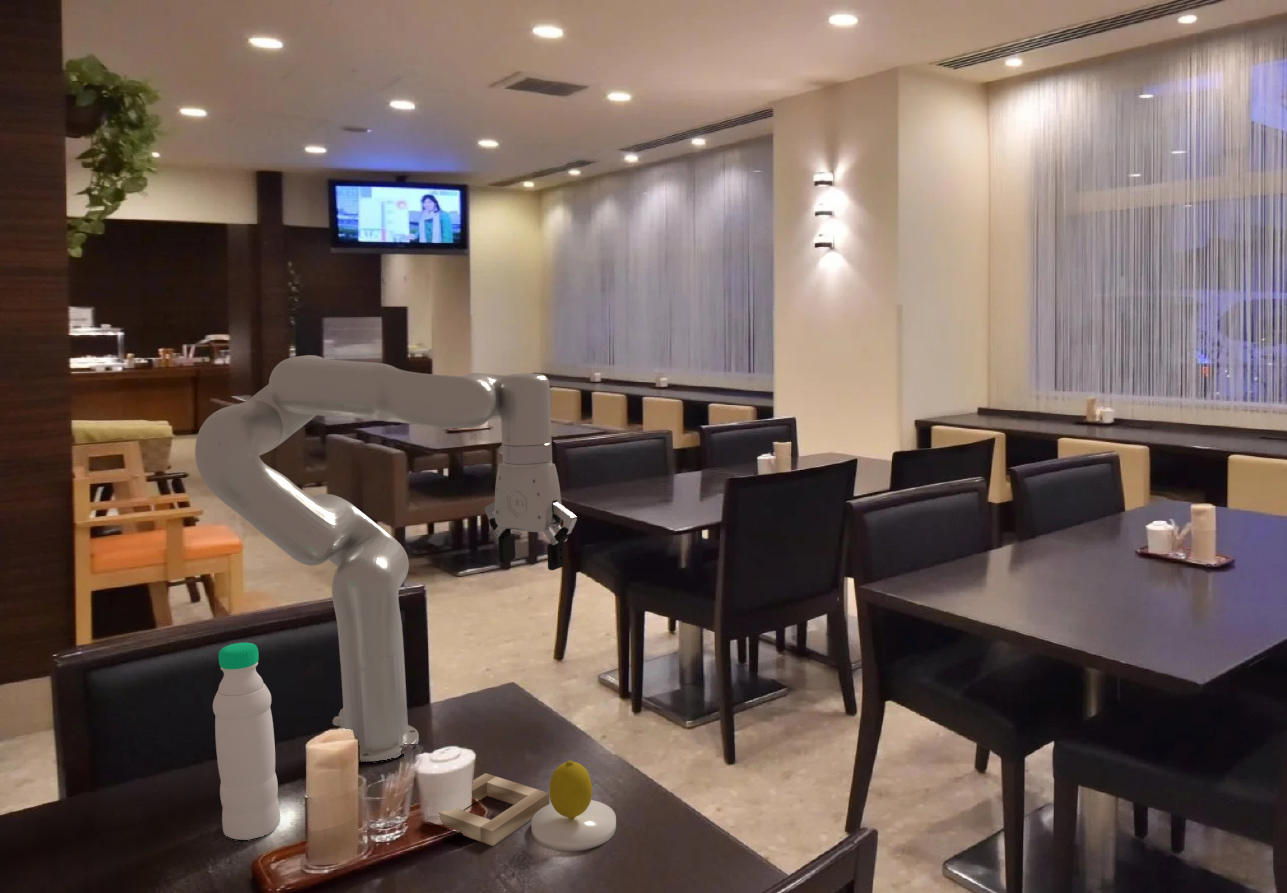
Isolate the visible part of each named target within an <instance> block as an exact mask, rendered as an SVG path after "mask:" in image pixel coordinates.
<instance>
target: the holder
mask: <svg viewBox="0 0 1287 893" xmlns="http://www.w3.org/2000/svg"><path fill="white" fill-rule="evenodd" d="M472 781H473V784H472V797H473V799H478V800H480V801H481V800H482V799H484V798H486V797H489V798H493V799H495V800H499V801H501V802H504V803H508V804H512V806H510V807H509V808H507V809H505V810H504V811H503V812H501V813H499V814H498V815H496V816H494V817H492V818H491V819H489V818H486V817H483V816H480V815H477V814H475V813H472V812H469V811H466V810H461V809H458V808H456V809H453V810H449V811H443V812H441V811H440V812H438V813H439V815H440V816H439V817H440V820H441V822H442V823H443V824H444V825H445V826H447V827H449V828H451V829H455V830H460V831H461V833H462V834H463V835H462V836H465V837H467V838H469V839H472V840H476V841H478V842H481V843H484V844H486V845H489V846H492V847H493V846H495V845H497V844H498V843H499V842H501V841H502V840H504V839H505V838H507V837H508V836H509V835H511V834H512V833H514V832H515V831H517V830H518V829H520V828H521V827H523V826H524V825H525V824H527V823H528V822H531V821H532V818H533V816H534V815H535V813H536V812H537V811H539V810H540V809H541V808H543V807H545V806H547V805H549V804H550V792H546V791H543V790H541V789H537V788H534V787H530V786H528V785H525V784H522V783H518V782H515V781H512V780H509V779H505V778H502V777H499V776H496V775H493V774H490V773H486V772H484V773H483V774H482V775H480V776H478V777H476V778H475V779H473V780H472Z"/></svg>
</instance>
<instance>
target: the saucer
mask: <svg viewBox="0 0 1287 893" xmlns="http://www.w3.org/2000/svg"><path fill="white" fill-rule="evenodd" d="M530 822H531V823H530V824H531V836H532V838H533V839H534V841H535V842H537V843H538V844H539V845H540V846H542V847H545V848H547V849H551V850H553V849H555V850H554V851H559V852H579V851H586V850H589V849H590V850H591V849H593V848H597V847H598V846H601V845H603V844H605V843H607V842H608V841H609V840H610V839H612V837H613V836H614V835H615V833H616V830H617V816H616V813H615V811H614V810H613V809H612V808H611V807H610V806H609V805H607V804H605V803H604V802H601V801H596V800H593V799H591V802H590V804H589V806H588V808H587V809H586V811H584V812H583V813H582V814H581V815H579V816H576V817H575V818H574V819H573V820H570V819H569V818H568V817H565V816H562V815H560V814H559V813H558V812H557V811H556V810H555V809H554V807H553V805H552V803H551V802H550V803H549V805H547V806H545V807H543V808H541V809H540V810H539V811H537V812H536V813H535V815H534V816H533V818H532V819H531V820H530Z"/></svg>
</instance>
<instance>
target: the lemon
mask: <svg viewBox="0 0 1287 893" xmlns="http://www.w3.org/2000/svg"><path fill="white" fill-rule="evenodd" d="M592 796H593V785H592V779H591V776H590V774H589V772H588V770H587V768H586V767H584V766H583V764H580V763H579V762H575V761H573V760H567V761H565V762H563V763H561V764H560V765H558V766H557V767H556V768H555V770H554V771H553V773H552V775H551V778H550V782H549V801H550V804H551V803H552V805H553V807H554V809H555V810H556V811H557V812H558V813H559V814H560V815H562V816H565V817H568V818H569V819H570V820H573V819H574V818H575V817H576V816H579V815H581V814H582V813H583V812H584V811H586V809H587V808H588V806H589V804H590V802H591V800H592Z"/></svg>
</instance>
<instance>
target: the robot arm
mask: <svg viewBox="0 0 1287 893" xmlns="http://www.w3.org/2000/svg"><path fill="white" fill-rule="evenodd" d="M268 380H269V381H268V384H267V385H265V386H264V387H263V388H262V389H260V390H259V391H258V392H256V393H255V394H254V395H253V396H251V397H250V398H248V400H246V401H244V402H241V403H236V404H233V405H229V406H226V407H222V408H220V409H218V410H217V411H215V412H213V413H212V414H210V415H209V416H208V417H207V418H206V419H205V420H204V422H203V423H202V425H201V427H200V428H199V431H198V432H197V437H196V439H195V448H194V452H195V453H194V456H195V458H194V459H195V464H196V467H197V470H198V474H199V475H200V478H201V479H202V481H203V482H204V484H205V486H206V487H207V489H208V490H210V491H211V493H212V494H213V495H215V497H216V498H218V499H219V500H220V501H221V502H222V503H224V504H225V505H226V506H228V507H229V508H230V509H231V510H233V511H234V512H236V513H237V515H239V516H241V517H242V518H243V519H244V520H246V521H247V522H248V523H249V524H250V525H251V526H253V527H254V528H255V530H258V531H259V533H261V534H262V535H264V536H265V538H267V539H269V540H270V542H273V543H274V544H275V545H276V546H277V547H279V549H281V550H282V551H284V552H285V553H286V555H288V556H290V557H291V558H292V559H294V561H296V562H298V563H300V564H303V565H306V566H319V565H321V564H323V563H326V562H328V561H330V562H331V563H333V565H335V566H336V567H337V568H336V570H335V572H334V574H333V580H332V586H331V594H332V595H331V596H332V602H333V603H332V604H333V607H334V612H335V618H336V623H337V624H336V627H337V635H338V649H339V662H340V672H341V673H340V675H341V676H340V678H341V688H342V690H341V691H342V692H341V693H342V706H343V707H342V709H339V710H340V711H339V713H338V716H334V717H333V719H332V724H333V725H334V726H337V727H341V729H342V728H345V729H351V730H353V732H354V735H355V736H356V737H357V738H358V740H359V745H360V760H361V762H362V761H363V762H364V761H366V762H367V761H379V760H386V761H388V760H387V759H390V760H392V759H391V758H394V759H396V758H399V756H400V755H401V750H402V746H403V745H404V744H417V745H418V744H419V741H420V738H419V732H418V730H417V729H416V728H415V727H413V726H412V725H409V723H408V722H409V720H408V706H407V704H408V702H407V687H406V686H407V685H406V682H407V681H406V668H405V652H404V649H405V647H404V636H403V635H404V634H403V624H402V623H403V622H402V618H401V617H402V616H401V610H400V602H399V601H400V600H399V592H400V589H401V587H402V586H403V584H404V582H405V580H406V578H407V576H408V572H409V567H410V562H409V557H408V554H407V552H406V550H405V548H404V546H402V544H401V543H400V542H399V541H398V540H397V539H396V538H395V537H393V536H392V535H391V534H390V533H389V532H387V531H386V530H385V529H384V528H382V526H380V525H379V524H378V523H376V521H374V520H373V519H371V518H370V517H369V516H368V515H367V514H365V513H364V512H363V511H361V510H360V509H359V508H357V507H356V506H355V505H354V504H353V503H351V502H350V501H348V500H346V499H344V498H343V497H340V496H338V495H335V494H330V493H322V494H321V493H320V494H316V495H312V496H311V495H309V494H308V493H306V492H305V491H304V490H302V488H300V487H299V486H297V485H296V484H295V483H294V482H292V481H291V479H289V478H288V477H287V476H285V475H284V474H283V473H280V472H279V471H277V470H276V469H273V468H272V467H270V466H269V465H267V464H266V463H264V462H263V460H262V459H261V457H260V456H262V455H264V454H266V453H270V451H272V450H274V449H275V448H277V447H279V446H280V445H281V444H282V443H284V442H285V441H286V440H288V439H289V438H290V437H292V435H294V433H296V432H297V431H299V430H300V429H302V428H303V427H304V426H305V425H307V424H308V423H309V422H310V421H311V420H313V419H314V418H315V417H316V416H323V417H336V418H337V417H340V418H352V419H361V420H362V419H363V420H376V421H382V422H388V423H401V424H410V425H417V426H430V427H441V428H443V427H444V428H454V429H455V428H456V429H474V428H478V427H481V426H483V425H485V424H486V423H487V422H488V421H490V420H495V419H496V420H497V419H500V427H501V429H500V430H501V445H500V446H499V448H498V453H499V454H500V455H502V462H501V463H498V467H497V472H496V479H495V490H494V501H493V502H491V503H489V504H488V505H486V506H485V507H484V512H485V514H486V516H487V520H488V523H489V526H490V528H492V530H493V531H494V533H493V534H494V536H495V537H496V538H497V539H498V542H497V543H498V544H497V545H498V562H499V563H503V564H504V563H506V562H509V561H513V560H515V558H516V540H515V539H516V538H515V534H514V533H512V532H513V530H515V531H522V532H531V533H540V532H543V533H544V535H545V536H546V538H547V540H548V541H549V543H547V546H546V548H547V549H546V550H547V569H548V571H555V570H557V569H560V568H564V566H565V544H564V543H565V542H567V541H568V538H569V536H571V534H572V533H573V531H574V527H575V525H576V522H577V520H578V517H577V516H576V515H575V513H573V512H572V511H570V510H569V509H568V508H566V507H565V506H564V505H562V497H561V495H562V494H561V488H560V487H561V486H560V481H559V476H558V472H557V471H558V470H557V467H556V464H555V463H553V446H552V444H553V443H552V415H551V413H552V412H551V389H550V388H551V387H550V381H549V378H548V377H547V376H546V375H544V374H541V373H512V374H507V375H501V374H491V373H481V372H474V373H467V374H465V375H443V374H435V373H433V374H431V373H430V374H429V373H422V372H415V371H407V370H403V369H400V368H397V367H396V366H393V365H390V364H387V363H382V362H375V361H374V362H371V361H370V362H369V361H353V360H344V359H343V360H339V359H330V358H324V357H322V356H319V355H314V354H313V355H311V354H306V355H299V356H293V357H289V358H286V359H283V360H282V361H280V362H278V364H277V365H276V366H275V367H274V368H273V369H272V370H271V374H270V376H269V379H268ZM562 522H563V524H562V526H561V523H562ZM400 757H401V756H400Z"/></svg>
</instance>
